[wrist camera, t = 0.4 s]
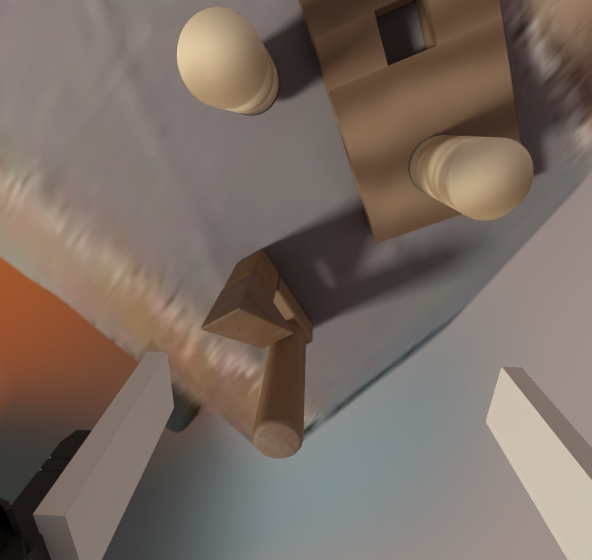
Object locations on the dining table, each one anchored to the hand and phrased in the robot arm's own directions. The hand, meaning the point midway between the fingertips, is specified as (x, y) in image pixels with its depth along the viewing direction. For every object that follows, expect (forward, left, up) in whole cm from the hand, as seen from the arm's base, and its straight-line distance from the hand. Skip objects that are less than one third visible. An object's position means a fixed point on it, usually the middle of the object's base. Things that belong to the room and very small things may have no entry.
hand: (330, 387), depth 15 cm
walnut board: (-9, +12, -25) cm, 29 cm away
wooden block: (+5, -7, -26) cm, 27 cm away
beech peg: (-15, -1, -25) cm, 29 cm away
